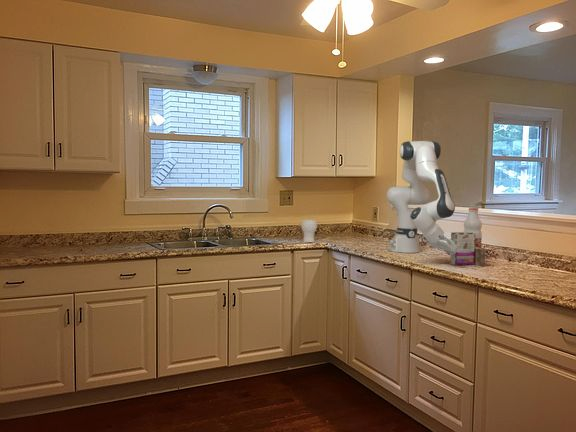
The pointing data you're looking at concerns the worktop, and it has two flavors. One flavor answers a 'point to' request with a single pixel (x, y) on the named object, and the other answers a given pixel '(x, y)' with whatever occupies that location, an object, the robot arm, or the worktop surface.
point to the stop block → (479, 256)
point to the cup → (308, 230)
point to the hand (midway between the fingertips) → (451, 254)
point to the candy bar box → (463, 248)
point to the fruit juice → (474, 225)
